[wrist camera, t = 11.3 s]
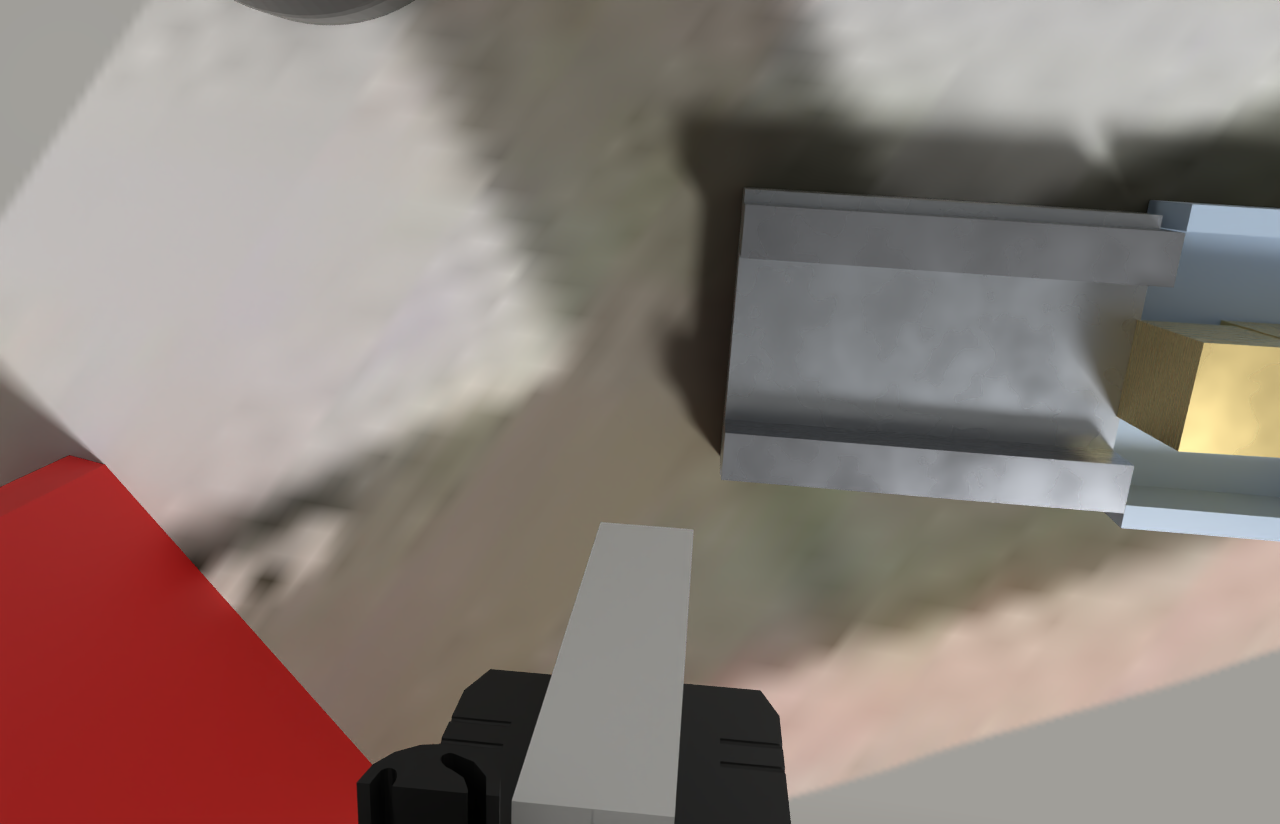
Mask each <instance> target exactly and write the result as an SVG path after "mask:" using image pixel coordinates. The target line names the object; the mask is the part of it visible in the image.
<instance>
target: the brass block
mask: <svg viewBox="0 0 1280 824" xmlns="http://www.w3.org/2000/svg"><path fill="white" fill-rule="evenodd" d="M1117 417H1118V418H1120V419H1122V420H1123V421H1125V422H1127V423H1129V424H1131V425H1132V426H1134V427H1136V428H1138V429H1139V430H1141V431H1143V432H1145V433H1146V434H1148V435H1150V436H1152V437H1154V438H1155V439H1157V440H1159V441H1161V442H1162V443H1164V444H1166V445H1168V446H1169V447H1171V448H1173V449H1175V450H1176V451H1179V452H1195V453H1211V454H1227V455H1243V456H1259V457H1275V458H1280V339H1279V338H1276V337H1272V336H1269V335H1266V334H1262V333H1259V332H1255V331H1252V330H1249V329H1245V328H1242V327H1239V326H1226V325H1211V324H1195V323H1179V322H1164V321H1148V320H1137V324H1136V328H1135V333H1134V338H1133V342H1132V347H1131V352H1130V356H1129V361H1128V366H1127V370H1126V375H1125V379H1124V384H1123V389H1122V393H1121V398H1120V403H1119V407H1118V412H1117Z"/></svg>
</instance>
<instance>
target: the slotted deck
mask: <svg viewBox="0 0 1280 824" xmlns="http://www.w3.org/2000/svg"><path fill="white" fill-rule="evenodd" d="M1162 218H1163V215H1156V214H1148V213H1141V212H1132V211H1116V210H1100V209H1085V208H1069V207H1053V206H1037V205H1021V204H1006V203H990V202H974V201H958V200H942V199H926V198H911V197H895V196H879V195H863V194H847V193H831V192H816V191H800V190H784V189H768V188H752V187H744V188H743V200H742V211H741V223H740V234H739V246H738V257H737V268H736V280H735V291H734V303H733V314H732V325H731V337H730V348H729V360H728V371H727V383H726V394H725V405H724V417H723V428H722V440H721V451H720V475H721V480H732V481H744V482H756V483H768V484H779V485H791V486H803V487H815V488H827V489H839V490H851V491H863V492H875V493H887V494H899V495H911V496H923V497H934V498H946V499H958V500H970V501H982V502H994V503H1006V504H1018V505H1030V506H1042V507H1054V508H1066V509H1078V510H1089V511H1101V512H1113V513H1124V511H1125V506H1126V502H1127V497H1128V493H1129V488H1130V483H1131V479H1132V474H1133V470H1134V465H1132V464H1131V463H1130V462H1128V461H1127V460H1126V459H1124V458H1123V457H1122V456H1120V455H1119V454H1118V453H1116V452H1115V451H1114V450H1113V448H1114V444H1115V439H1116V434H1117V429H1118V425H1119V420H1120V418H1118V417H1117V412H1118V407H1119V403H1120V398H1121V393H1122V389H1123V384H1124V379H1125V375H1126V370H1127V366H1128V361H1129V356H1130V352H1131V347H1132V342H1133V338H1134V333H1135V328H1136V324H1137V320H1141V317H1142V312H1143V307H1144V303H1145V298H1146V293H1147V288H1148V286H1158V287H1172V288H1174V284H1175V280H1176V275H1177V270H1178V266H1179V261H1180V257H1181V252H1182V248H1183V243H1184V239H1185V234H1186V233H1184V232H1178V231H1172V230H1165V229H1160V227H1161V223H1162Z"/></svg>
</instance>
